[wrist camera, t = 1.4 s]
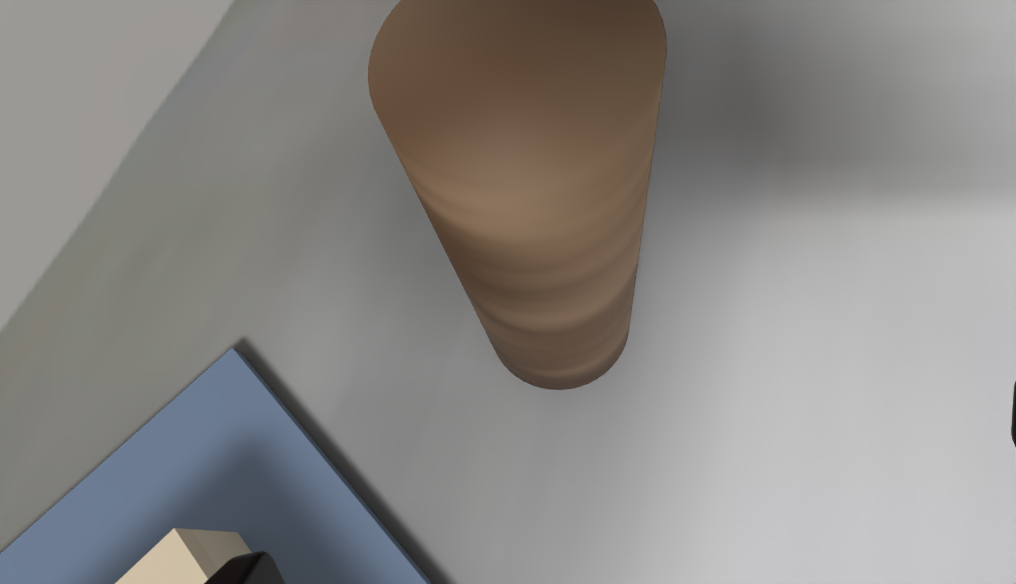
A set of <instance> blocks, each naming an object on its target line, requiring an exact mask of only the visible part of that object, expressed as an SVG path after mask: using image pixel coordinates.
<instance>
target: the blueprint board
mask: <svg viewBox="0 0 1016 584" xmlns="http://www.w3.org/2000/svg"><path fill="white" fill-rule="evenodd" d="M256 551H266V552H268V553H269V554H270V555H271V556H272V557H273V559H274V561H275V563H276V565H277V567H278V569H279V571H280V573H281V575H282V577H283V579H284V581H285V583H286V584H432V583H431V582H430V580H429V579H428V578H427V577H426V575H425V574H424V573H423V572H422V571H421V569H420V568H419V567H418V566H417V565H416V563H415V562H414V561H413V560H412V559H411V557H410V556H409V555H408V554H407V553H406V551H405V550H404V549H403V548H402V547H401V545H400V544H399V543H398V542H397V540H396V539H395V538H394V537H393V536H392V534H391V533H390V532H389V531H388V530H387V528H386V527H385V526H384V525H383V524H382V522H381V521H380V520H379V519H378V518H377V516H376V515H375V514H374V513H373V512H372V510H371V509H370V508H369V507H368V505H367V504H366V503H365V502H364V501H363V499H362V498H361V497H360V496H359V495H358V493H357V492H356V491H355V490H354V489H353V487H352V486H351V485H350V484H349V483H348V481H347V480H346V479H345V478H344V477H343V475H342V474H341V473H340V472H339V470H338V469H337V468H336V467H335V466H334V464H333V463H332V462H331V461H330V460H329V458H328V457H327V456H326V455H325V454H324V452H323V451H322V450H321V449H320V448H319V446H318V445H317V444H316V443H315V442H314V440H313V439H312V438H311V437H310V435H309V434H308V433H307V432H306V431H305V429H304V428H303V427H302V426H301V425H300V423H299V422H298V421H297V420H296V419H295V417H294V416H293V415H292V414H291V413H290V411H289V410H288V409H287V408H286V407H285V405H284V404H283V403H282V402H281V401H280V399H279V398H278V397H277V396H276V394H275V393H274V392H273V391H272V390H271V388H270V387H269V386H268V385H267V384H266V382H265V381H264V380H263V379H262V378H261V376H260V375H259V374H258V373H257V372H256V370H255V369H254V368H253V367H252V366H251V364H250V363H249V362H248V361H247V359H246V358H245V357H244V356H243V355H242V353H241V352H239V351H237V350H236V349H234V348H231V349H230V350H229V351H228V352H227V353H225V354H224V355H223V356H222V357H221V358H220V359H219V360H218V361H216V362H215V363H214V364H213V365H212V366H211V367H210V368H209V369H207V370H206V371H205V372H204V373H203V374H202V375H201V376H200V377H198V378H197V379H196V380H195V381H194V382H193V383H192V384H191V385H189V386H188V387H187V388H186V389H185V390H184V391H183V392H182V393H180V394H179V395H178V396H177V397H176V398H175V399H174V400H173V401H171V402H170V403H169V404H168V405H167V406H166V407H165V408H164V409H162V410H161V411H160V412H159V413H158V414H157V415H156V416H155V417H153V418H152V419H151V420H150V421H149V422H148V423H147V424H146V425H144V426H143V427H142V428H141V429H140V430H139V431H138V432H137V433H135V434H134V435H133V436H132V437H131V438H130V439H129V440H128V441H126V442H125V443H124V444H123V445H122V446H121V447H120V448H119V449H117V450H116V451H115V452H114V453H113V454H112V455H111V456H110V457H108V458H107V459H106V460H105V461H104V462H103V463H102V464H101V465H99V466H98V467H97V468H96V469H95V470H94V471H93V472H92V473H90V474H89V475H88V476H87V477H86V478H85V479H84V480H83V481H81V482H80V483H79V484H78V485H77V486H76V487H75V488H74V489H72V490H71V491H70V492H69V493H68V494H67V495H66V496H65V497H63V498H62V499H61V500H60V501H59V502H58V503H57V504H56V505H54V506H53V507H52V508H51V509H50V510H49V511H48V512H47V513H45V514H44V515H43V516H42V517H41V518H40V519H39V520H38V521H36V522H35V523H34V524H33V525H32V526H31V527H30V528H29V529H27V530H26V531H25V532H24V533H23V534H22V535H21V536H20V537H18V538H17V539H16V540H15V541H14V542H13V543H12V544H11V545H9V546H8V547H7V548H6V549H5V550H4V551H3V552H2V553H0V584H204V583H205V582H206V581H207V580H208V579H209V578H210V577H211V576H212V575H213V574H214V573H216V572H217V571H218V570H219V569H220V568H221V567H222V566H223V565H224V564H225V563H226V562H227V561H228V560H230V559H231V558H233V557H236V556H239V555H243V554H248V553H252V552H256Z"/></svg>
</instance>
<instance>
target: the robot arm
mask: <svg viewBox="0 0 1016 584" xmlns="http://www.w3.org/2000/svg"><path fill="white" fill-rule="evenodd" d="M1011 435H1012V439H1013V442H1014V444H1015V447H1016V382H1015V385H1014V395H1013V410H1012V425H1011ZM204 584H286V583H285V581H284V579H283V577H282V575H281V573H280V571H279V569H278V567H277V565H276V563H275V561H274V559H273V557H272V556H271V555H270V554H269V553H268V552H266V551H256V552H252V553H248V554H243V555H239V556H236V557H233V558H231V559H230V560H228V561H227V562H226V563H225V564H224V565H223V566H222V567H221V568H220V569H219V570H218V571H217V572H216V573H214V574H213V575H212V576H211V577H210V578H209V579H208V580H207V581H206V582H205V583H204Z"/></svg>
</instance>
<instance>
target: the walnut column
mask: <svg viewBox="0 0 1016 584" xmlns="http://www.w3.org/2000/svg"><path fill="white" fill-rule="evenodd" d="M666 53H667V45H666V33H665V28H664V24H663V20H662V18H661V15H660V13H659V10H658V8H657V6H656V4H655V3H654V1H653V0H401V1H400V2H399V3H398V4H397V5H396V6H395V8H394V9H393V10H392V11H391V13H390V14H389V16H388V17H387V18H386V20H385V21H384V23H383V25H382V27H381V29H380V31H379V32H378V34H377V36H376V39H375V42H374V45H373V47H372V50H371V55H370V60H369V66H368V84H369V92H370V96H371V100H372V103H373V106H374V109H375V111H376V113H377V115H378V117H379V119H380V121H381V123H382V125H383V127H384V129H385V131H386V133H387V135H388V137H389V139H390V141H391V143H392V145H393V147H394V149H395V151H396V153H397V155H398V157H399V159H400V161H401V163H402V165H403V167H404V169H405V171H406V173H407V175H408V177H409V179H410V181H411V183H412V185H413V187H414V189H415V191H416V193H417V195H418V197H419V199H420V201H421V203H422V205H423V207H424V209H425V211H426V213H427V215H428V217H429V219H430V221H431V223H432V225H433V227H434V229H435V231H436V233H437V235H438V237H439V239H440V241H441V243H442V245H443V247H444V249H445V251H446V253H447V255H448V257H449V259H450V261H451V263H452V265H453V267H454V269H455V271H456V273H457V275H458V277H459V279H460V281H461V283H462V285H463V287H464V289H465V291H466V293H467V295H468V297H469V299H470V301H471V303H472V305H473V307H474V309H475V311H476V313H477V315H478V317H479V319H480V321H481V323H482V325H483V327H484V329H485V331H486V333H487V335H488V337H489V339H490V341H491V343H492V345H493V347H494V349H495V351H496V353H497V355H498V357H499V359H500V360H501V362H502V363H503V364H504V365H505V367H506V368H507V369H508V370H509V371H510V372H511V373H513V374H514V375H515V376H516V377H518V378H520V379H521V380H523V381H524V382H527V383H529V384H531V385H534V386H537V387H540V388H545V389H553V390H563V389H572V388H576V387H580V386H583V385H585V384H588V383H590V382H592V381H594V380H596V379H598V378H599V377H600V376H602V375H603V374H605V373H606V372H607V371H608V370H609V369H610V368H611V367H612V366H613V365H614V363H615V362H616V361H617V360H618V358H619V356H620V355H621V353H622V351H623V349H624V347H625V344H626V341H627V337H628V332H629V324H630V317H631V310H632V302H633V295H634V288H635V280H636V273H637V266H638V258H639V251H640V244H641V236H642V229H643V222H644V214H645V207H646V200H647V192H648V185H649V178H650V170H651V163H652V156H653V148H654V141H655V134H656V127H657V119H658V112H659V105H660V97H661V90H662V83H663V75H664V68H665V60H666Z"/></svg>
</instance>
